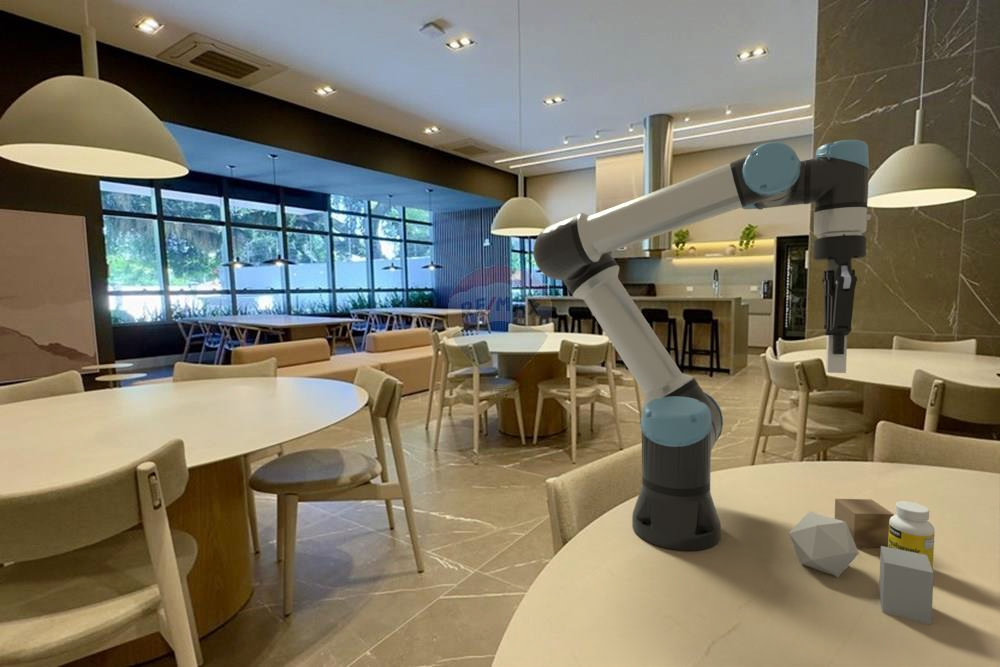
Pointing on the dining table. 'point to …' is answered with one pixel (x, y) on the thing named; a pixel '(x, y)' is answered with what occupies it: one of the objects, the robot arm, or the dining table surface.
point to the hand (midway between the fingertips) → (835, 372)
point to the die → (823, 543)
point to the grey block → (906, 584)
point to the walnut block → (865, 521)
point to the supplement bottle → (912, 529)
